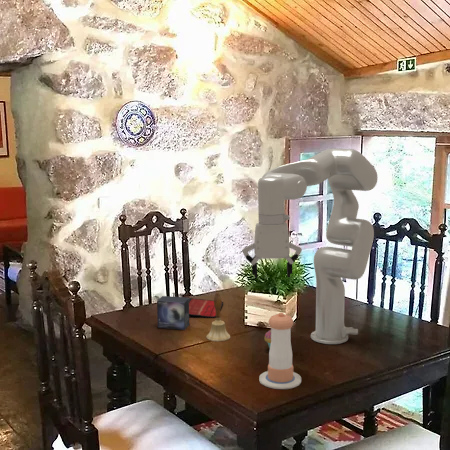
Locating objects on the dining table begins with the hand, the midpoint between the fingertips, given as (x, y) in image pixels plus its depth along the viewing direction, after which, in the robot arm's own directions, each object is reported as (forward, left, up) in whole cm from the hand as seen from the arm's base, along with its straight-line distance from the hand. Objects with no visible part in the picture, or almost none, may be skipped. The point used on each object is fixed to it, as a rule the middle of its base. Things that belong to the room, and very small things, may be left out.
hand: (272, 276), depth 187 cm
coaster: (-2, +9, -28) cm, 30 cm away
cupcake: (-2, -15, -29) cm, 32 cm away
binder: (+27, -58, -29) cm, 71 cm away
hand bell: (+18, -27, -29) cm, 43 cm away
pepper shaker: (-2, +9, -28) cm, 29 cm away
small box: (+35, -38, -29) cm, 59 cm away
